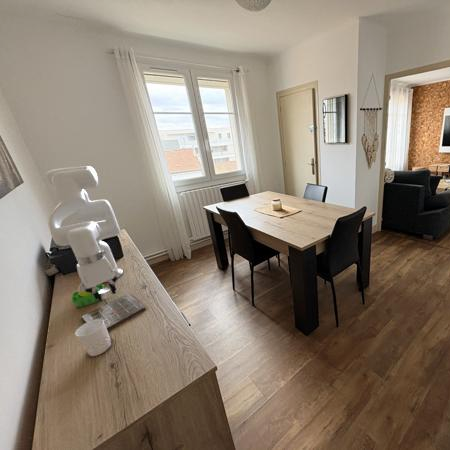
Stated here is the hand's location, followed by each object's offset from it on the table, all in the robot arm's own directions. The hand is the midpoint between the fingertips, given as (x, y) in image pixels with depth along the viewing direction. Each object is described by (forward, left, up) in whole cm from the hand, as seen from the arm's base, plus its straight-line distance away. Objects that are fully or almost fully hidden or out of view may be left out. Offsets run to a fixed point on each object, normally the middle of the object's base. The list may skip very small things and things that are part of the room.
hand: (106, 295), depth 101 cm
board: (0, 0, -10) cm, 10 cm away
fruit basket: (-20, -3, -10) cm, 23 cm away
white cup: (+17, -10, -10) cm, 22 cm away
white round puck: (0, 0, 0) cm, 0 cm away
